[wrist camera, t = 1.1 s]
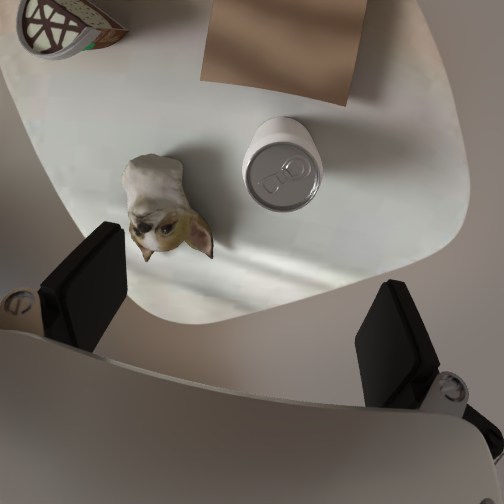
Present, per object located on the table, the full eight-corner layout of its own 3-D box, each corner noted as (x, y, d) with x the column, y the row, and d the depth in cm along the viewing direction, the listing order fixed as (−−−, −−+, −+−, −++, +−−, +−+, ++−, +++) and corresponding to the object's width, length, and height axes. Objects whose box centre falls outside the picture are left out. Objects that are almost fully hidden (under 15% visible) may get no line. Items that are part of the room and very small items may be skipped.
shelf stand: (236, -60, 20) (221, -95, 13) (365, -37, 20) (389, -65, 13) (209, 80, 30) (184, 81, 22) (338, 103, 30) (357, 112, 22)
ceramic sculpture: (175, 158, 26) (208, 289, 34) (199, 133, 33) (221, 245, 41) (80, 176, 27) (125, 290, 36) (118, 149, 35) (149, 249, 43)
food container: (51, 30, 26) (-2, 31, 17) (78, -8, 23) (26, -18, 15) (105, 77, 30) (54, 84, 21) (137, 37, 27) (89, 30, 19)
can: (323, 152, 33) (342, 189, 23) (276, 182, 35) (273, 232, 25) (288, 104, 31) (292, 118, 20) (241, 138, 33) (221, 169, 23)
